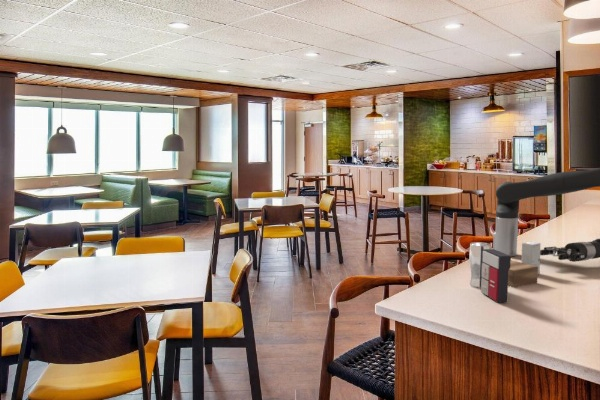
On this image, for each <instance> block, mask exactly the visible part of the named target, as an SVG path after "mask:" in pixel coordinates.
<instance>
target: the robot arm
mask: <svg viewBox="0 0 600 400" xmlns="http://www.w3.org/2000/svg"><path fill="white" fill-rule="evenodd" d="M598 187H600V167H598V168H597V167H596V168H594V169H589V170H588V169H587V170H586V169H585V170H581V169H580V170H570V171H569V170H568V171H561V172H556V173H551V174H547V175H543V176H540V177H537V178H534V179H530V180H526V181H516V182H512V181H506V182H503V183H501V184H499V185H498V187H496V189H495V195H496V196H495V197H496V198H497V200H496V203H497V204H496V210H495V230H494V232H493V235H492V236H493V237H492V238H493V239H492V241H493V242H492V249H495V250H497V251H500V252H502V253H505V254H507V255H509V256H511V257H515V256H517V252H518V251H517V250H518V232H519V231H518V229H519V228H518V227H519V224H518V223H519V210H520V201H521V200H523V199H529V198H537V197H549V196H558V195H565V194H569V193H576V192H580V191H583V190H584V191H585V190H587V189H592V188H598ZM540 256H553V257H557V259H558V260H559V261H563V260H564V261H565V260H567V261H569V262H573V263H576V262H582V261H583V262H584V261H589V260H593V259H594V260H595V259H599V258H600V238H595V239H594V240H592V241H577V242H570V243H567V244H566V245H565V246H560V247H557V246H547V247H546V246H545V247H543V249H540Z"/></svg>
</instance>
